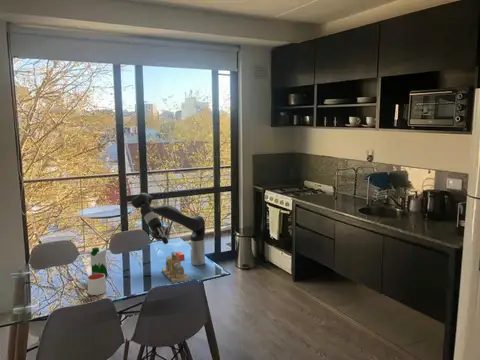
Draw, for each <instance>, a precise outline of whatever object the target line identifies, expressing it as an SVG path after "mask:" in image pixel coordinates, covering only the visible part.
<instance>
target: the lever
mask: <svg viewBox="0 0 480 360" xmlns="http://www.w3.org/2000/svg"><path fill="white" fill-rule="evenodd" d="M170 254H171V255H170V256H171V257H172V256H176V259H178V260H179V261H180V262H184V261H185V253H183V252H181V251H172V252H171V253H170Z"/></svg>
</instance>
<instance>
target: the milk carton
mask: <svg viewBox="0 0 480 360" xmlns="http://www.w3.org/2000/svg"><path fill="white" fill-rule="evenodd" d="M88 253H89V256H90V266H91V275H93V274H99V273H100V274H104V275H105V278H107V277H108V275H109V274H108V270H107V258H106V257H107V256H106V255H107V249H106V248H99V247H92V248H91V250H90V251H88Z"/></svg>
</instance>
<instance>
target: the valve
mask: <svg viewBox="0 0 480 360" xmlns="http://www.w3.org/2000/svg"><path fill="white" fill-rule="evenodd" d="M161 272H162V273H163V274H164V275H165V276H166V277H167V278H168V279H169V280H170V281H171V282H172V284H177V283H176V282H179V283H182V282H181V281H184V282H188V281H190V277H189V276H188V274H186V273H185V269H184V266H183V265H182V264H181V261H179V260H178V259H176V256H172V255H168V256H166V258H165V267H164V268H161ZM187 280H188V281H187Z"/></svg>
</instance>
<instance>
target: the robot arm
mask: <svg viewBox="0 0 480 360" xmlns="http://www.w3.org/2000/svg"><path fill="white" fill-rule="evenodd" d="M152 202H153V196H152V194H149V193H147V192H140V193H139V194H137V195H136V196H135V197H133V198H132V199H131V201H130V203H131V205H132V207H133V208H134V209H139V208H140V214H141V215H142V216H141V217H143V220H144V221H145V223H146V224H147V226H148V228H149V229H150V231H151V234H150V236H152V237H153V238H155V239H156V240H161V241H162V243H163V244H164V245H167V244H168V243H169V239H168V238H167V237H168V234H169V228H168V227H166V228H165V227H164V226H163V225H162V222H161V220H160V218H159V217H158V216H160V217H163V218H164V219H167V220H168V221H169V220H170V221H171V222H174V223H177V224H179V225H181V226H183V227H185V228H186V229H188V230H189V231H192V232H191V235H190V262H191V265H192V266H202V265H204V264H206V258H205V257H206V256H205V255H206V253H205V251H206V250H205V235H206V227H205V226H206V225H205V224H206V221H205V219H204V218H203V216H201V215H195V216H194V217H191V216H188V215H185V214H184V213H182V212H181V211H180V210H179V209H178V208H177V207H174V206H172V205H170V204H162V205H158V206H151V204H152ZM157 215H158V216H157Z"/></svg>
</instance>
